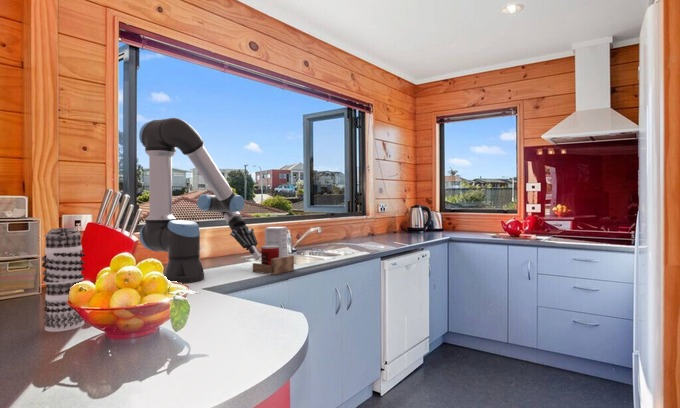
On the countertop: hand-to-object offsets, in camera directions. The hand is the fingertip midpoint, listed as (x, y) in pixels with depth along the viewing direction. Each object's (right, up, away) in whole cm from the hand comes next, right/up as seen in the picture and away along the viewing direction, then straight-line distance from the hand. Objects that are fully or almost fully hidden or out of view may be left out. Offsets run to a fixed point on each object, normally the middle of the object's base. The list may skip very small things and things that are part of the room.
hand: (258, 258), depth 186 cm
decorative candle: (-33, -7, -83) cm, 89 cm away
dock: (+7, -5, -6) cm, 11 cm away
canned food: (+7, -5, -6) cm, 10 cm away
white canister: (+4, -4, +29) cm, 29 cm away
